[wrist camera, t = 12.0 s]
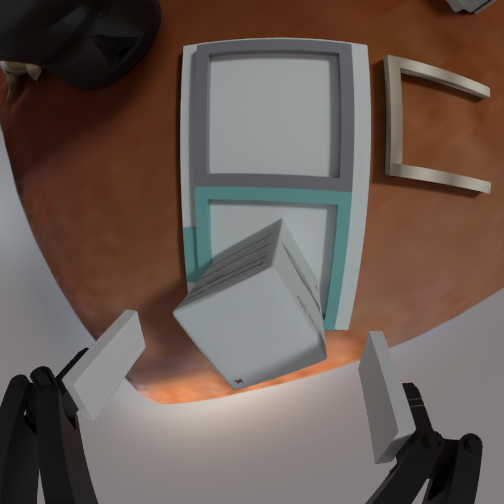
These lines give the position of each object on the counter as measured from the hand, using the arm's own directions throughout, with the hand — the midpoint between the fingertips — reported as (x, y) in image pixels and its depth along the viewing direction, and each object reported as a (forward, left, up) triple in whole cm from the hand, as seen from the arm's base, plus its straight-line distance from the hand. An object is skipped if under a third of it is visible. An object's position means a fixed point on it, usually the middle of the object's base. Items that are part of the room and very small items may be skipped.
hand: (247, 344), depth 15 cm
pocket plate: (0, +7, -15) cm, 16 cm away
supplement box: (0, -1, -14) cm, 14 cm away
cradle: (+18, +15, -15) cm, 27 cm away
